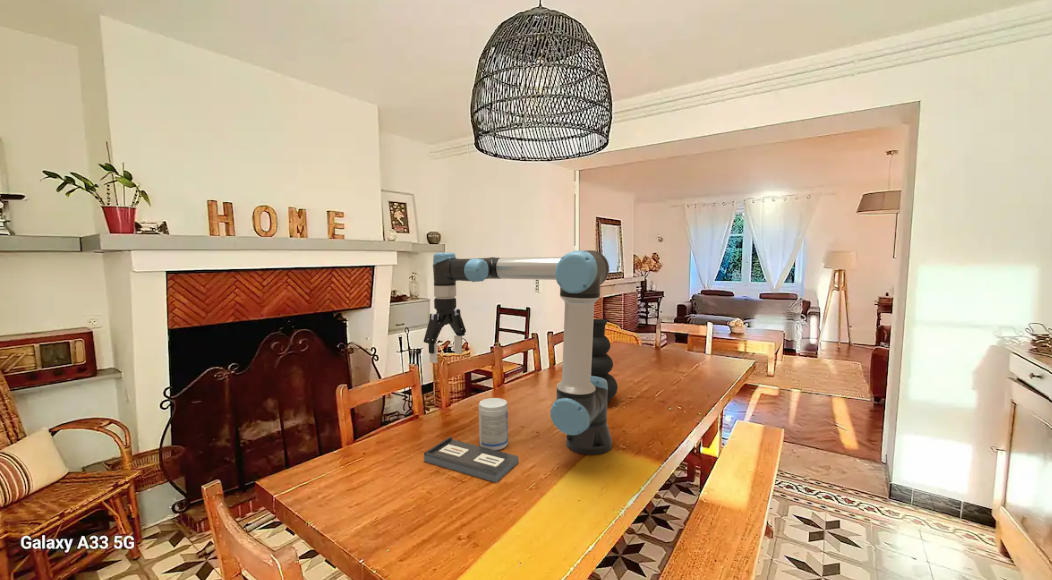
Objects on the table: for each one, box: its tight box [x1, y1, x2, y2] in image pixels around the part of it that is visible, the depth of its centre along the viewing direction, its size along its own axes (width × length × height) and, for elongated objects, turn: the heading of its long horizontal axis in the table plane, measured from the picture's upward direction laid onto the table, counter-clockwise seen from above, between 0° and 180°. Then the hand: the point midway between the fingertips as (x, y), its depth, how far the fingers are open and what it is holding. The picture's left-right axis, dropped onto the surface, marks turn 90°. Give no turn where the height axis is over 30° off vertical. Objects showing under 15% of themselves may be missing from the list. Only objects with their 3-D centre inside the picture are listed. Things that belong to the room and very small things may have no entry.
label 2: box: [473, 453, 505, 467], centre depth 130 cm, size 8×5×1 cm, turn 62°
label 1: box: [439, 444, 469, 457], centre depth 136 cm, size 8×5×1 cm, turn 62°
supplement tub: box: [478, 397, 509, 451], centre depth 144 cm, size 10×10×15 cm
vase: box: [591, 318, 618, 404], centre depth 183 cm, size 18×18×35 cm
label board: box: [423, 436, 519, 484], centre depth 134 cm, size 26×13×3 cm, turn 62°
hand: (446, 357), depth 152 cm, fingers open, 13 cm apart
